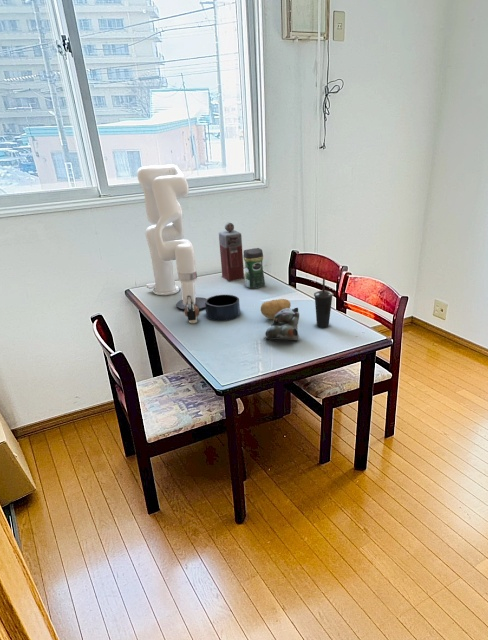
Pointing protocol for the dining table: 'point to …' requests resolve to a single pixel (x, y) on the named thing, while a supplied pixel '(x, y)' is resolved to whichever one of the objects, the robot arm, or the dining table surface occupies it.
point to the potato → (274, 307)
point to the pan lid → (199, 301)
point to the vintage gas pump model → (231, 253)
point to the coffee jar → (254, 268)
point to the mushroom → (195, 313)
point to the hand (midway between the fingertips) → (192, 315)
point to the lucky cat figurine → (284, 325)
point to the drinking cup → (323, 306)
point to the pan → (222, 307)
